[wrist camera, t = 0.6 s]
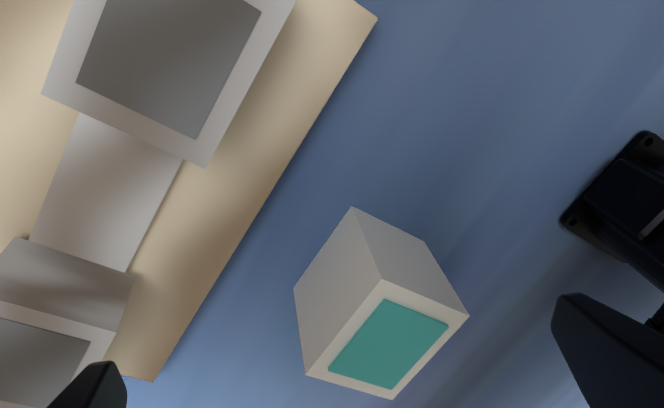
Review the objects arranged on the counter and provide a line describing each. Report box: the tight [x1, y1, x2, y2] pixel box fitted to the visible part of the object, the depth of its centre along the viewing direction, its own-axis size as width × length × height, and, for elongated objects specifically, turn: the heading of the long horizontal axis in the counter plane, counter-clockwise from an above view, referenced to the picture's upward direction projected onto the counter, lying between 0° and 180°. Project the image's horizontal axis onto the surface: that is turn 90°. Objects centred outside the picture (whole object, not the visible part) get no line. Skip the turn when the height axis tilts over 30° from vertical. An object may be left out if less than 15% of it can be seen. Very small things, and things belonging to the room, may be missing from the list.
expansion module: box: [293, 206, 470, 400], centre depth 22 cm, size 5×6×6 cm
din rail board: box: [0, 0, 378, 408], centre depth 17 cm, size 12×22×6 cm, turn 148°
